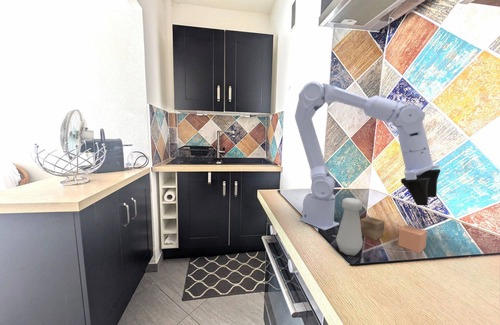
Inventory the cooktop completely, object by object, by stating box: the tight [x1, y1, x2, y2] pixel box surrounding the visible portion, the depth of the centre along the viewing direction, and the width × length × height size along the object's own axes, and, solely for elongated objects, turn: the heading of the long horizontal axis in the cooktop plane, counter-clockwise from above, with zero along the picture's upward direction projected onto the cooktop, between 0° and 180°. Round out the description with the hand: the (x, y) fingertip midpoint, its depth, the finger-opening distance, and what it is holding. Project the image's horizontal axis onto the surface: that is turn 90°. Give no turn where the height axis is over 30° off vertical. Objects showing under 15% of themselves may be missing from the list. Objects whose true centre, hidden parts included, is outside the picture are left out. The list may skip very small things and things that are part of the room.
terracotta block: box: [397, 224, 428, 254], centre depth 53 cm, size 4×4×4 cm
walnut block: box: [360, 216, 385, 241], centre depth 59 cm, size 4×4×4 cm
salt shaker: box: [335, 197, 364, 257], centre depth 50 cm, size 6×6×13 cm
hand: (426, 200), depth 55 cm, fingers open, 7 cm apart
